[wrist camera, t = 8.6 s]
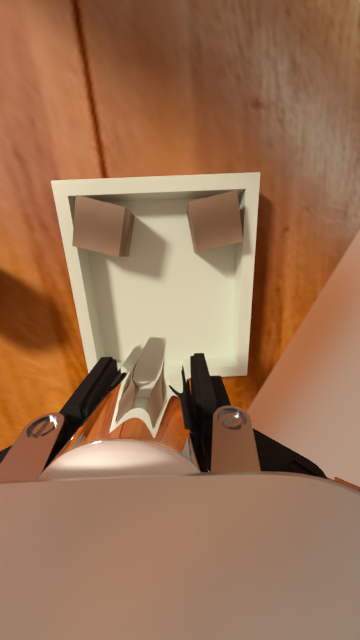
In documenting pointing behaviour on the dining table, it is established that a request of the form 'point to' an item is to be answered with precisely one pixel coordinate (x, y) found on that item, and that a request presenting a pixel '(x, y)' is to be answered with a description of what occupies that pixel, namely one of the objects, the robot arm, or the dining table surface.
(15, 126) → the dining table surface
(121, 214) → the walnut block
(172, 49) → the dining table surface
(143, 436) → the milkshake
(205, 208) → the walnut block
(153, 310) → the tray
